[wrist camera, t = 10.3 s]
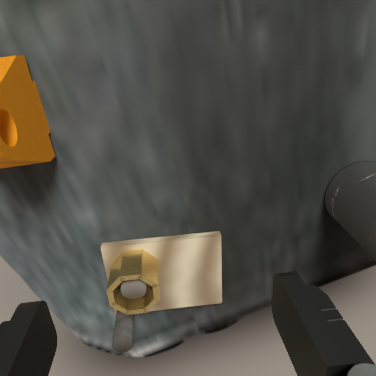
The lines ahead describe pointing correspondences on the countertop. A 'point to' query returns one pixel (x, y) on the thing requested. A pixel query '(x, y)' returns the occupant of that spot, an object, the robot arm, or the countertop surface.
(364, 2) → the countertop surface
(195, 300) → the maple board
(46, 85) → the countertop surface
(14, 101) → the bracket
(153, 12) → the countertop surface
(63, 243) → the countertop surface
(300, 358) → the robot arm
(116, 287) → the brass collar
